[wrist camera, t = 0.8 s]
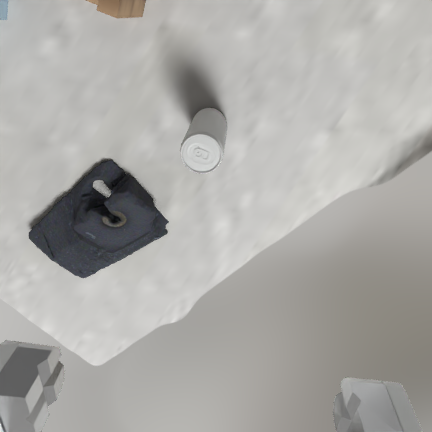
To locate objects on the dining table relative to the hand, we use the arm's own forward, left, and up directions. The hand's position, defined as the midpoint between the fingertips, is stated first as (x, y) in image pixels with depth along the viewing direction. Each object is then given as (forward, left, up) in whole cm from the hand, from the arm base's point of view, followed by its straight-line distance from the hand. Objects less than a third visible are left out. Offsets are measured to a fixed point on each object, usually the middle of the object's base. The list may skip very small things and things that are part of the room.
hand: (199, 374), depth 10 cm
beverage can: (+5, -1, -42) cm, 43 cm away
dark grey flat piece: (+27, -13, -43) cm, 53 cm away
